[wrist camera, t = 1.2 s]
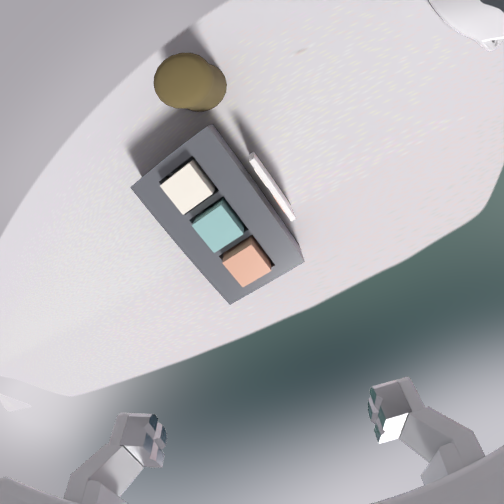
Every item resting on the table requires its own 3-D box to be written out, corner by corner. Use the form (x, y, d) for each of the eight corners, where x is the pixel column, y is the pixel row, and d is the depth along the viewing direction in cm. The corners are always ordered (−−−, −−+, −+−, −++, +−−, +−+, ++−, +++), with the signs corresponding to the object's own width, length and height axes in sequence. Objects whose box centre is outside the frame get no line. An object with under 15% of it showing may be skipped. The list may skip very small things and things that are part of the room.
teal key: (223, 196, 34) (221, 205, 32) (244, 223, 36) (243, 234, 33) (196, 216, 35) (191, 225, 33) (216, 241, 37) (214, 253, 34)
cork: (165, 97, 32) (131, 94, 22) (192, 54, 29) (168, 34, 19) (208, 121, 33) (190, 126, 23) (236, 78, 31) (230, 65, 21)
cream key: (194, 158, 32) (189, 163, 30) (215, 186, 34) (212, 193, 31) (167, 179, 33) (159, 186, 31) (188, 206, 35) (182, 215, 32)
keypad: (226, 114, 33) (222, 114, 28) (312, 238, 40) (320, 255, 35) (142, 178, 36) (128, 189, 32) (231, 286, 43) (229, 308, 39)
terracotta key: (251, 233, 36) (251, 244, 34) (270, 258, 38) (271, 270, 35) (224, 251, 37) (222, 262, 35) (243, 274, 39) (242, 287, 36)
